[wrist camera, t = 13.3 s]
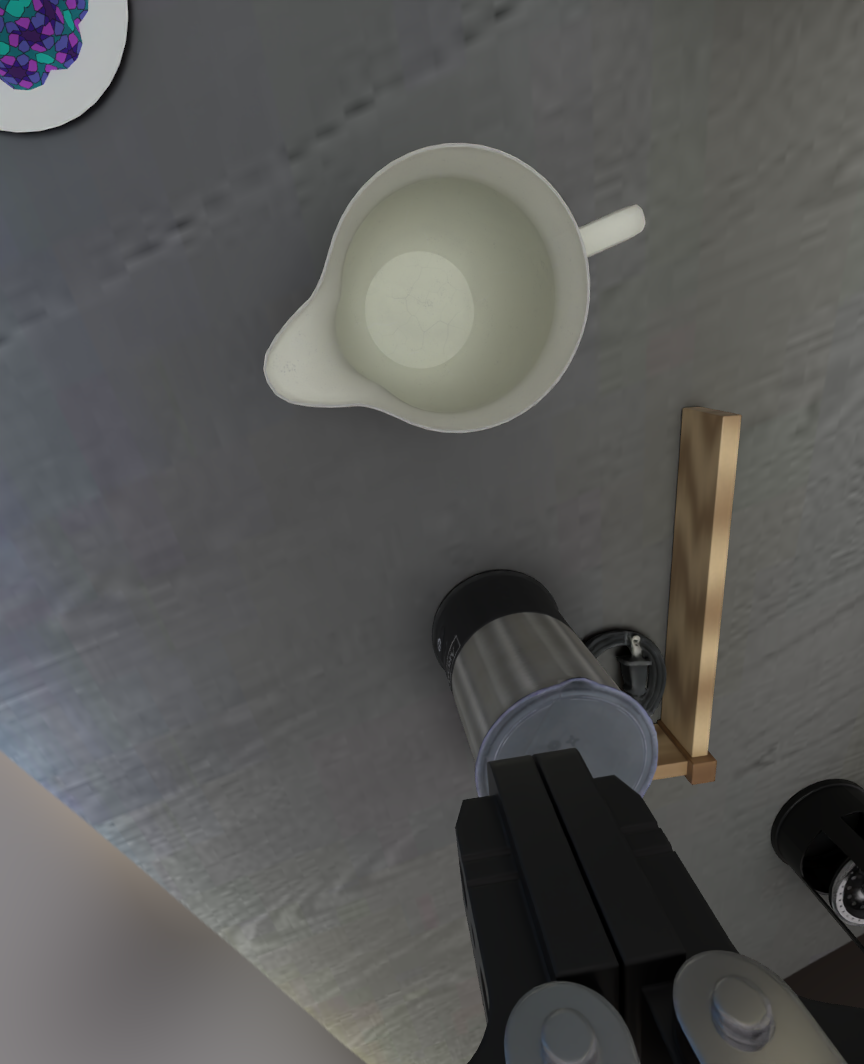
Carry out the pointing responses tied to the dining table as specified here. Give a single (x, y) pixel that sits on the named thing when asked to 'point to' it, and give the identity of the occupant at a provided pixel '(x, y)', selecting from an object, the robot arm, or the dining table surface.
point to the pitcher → (446, 293)
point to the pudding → (56, 59)
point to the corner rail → (697, 591)
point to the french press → (845, 873)
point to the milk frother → (545, 681)
